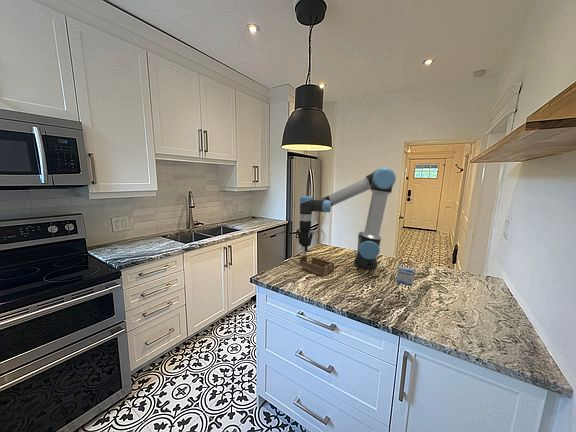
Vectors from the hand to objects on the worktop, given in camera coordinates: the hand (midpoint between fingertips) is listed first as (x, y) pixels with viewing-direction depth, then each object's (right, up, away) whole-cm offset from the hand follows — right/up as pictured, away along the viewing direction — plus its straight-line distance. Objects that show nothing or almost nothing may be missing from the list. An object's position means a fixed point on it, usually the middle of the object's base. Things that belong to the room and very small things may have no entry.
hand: (304, 255), depth 160 cm
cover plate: (-4, -7, +6) cm, 10 cm away
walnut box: (+8, -9, -6) cm, 13 cm away
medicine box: (+56, -12, -21) cm, 61 cm away
